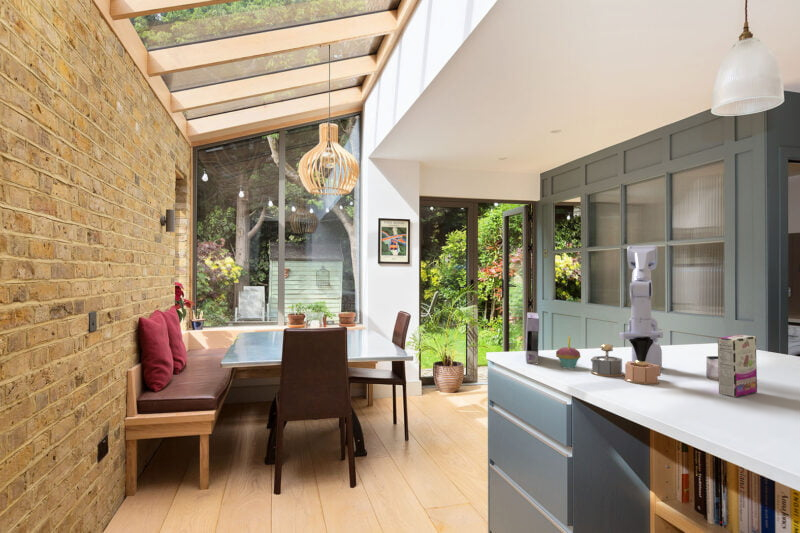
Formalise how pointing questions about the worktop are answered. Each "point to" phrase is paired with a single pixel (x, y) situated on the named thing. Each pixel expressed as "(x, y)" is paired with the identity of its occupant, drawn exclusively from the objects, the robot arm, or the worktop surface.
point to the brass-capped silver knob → (606, 348)
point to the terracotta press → (642, 373)
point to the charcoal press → (607, 366)
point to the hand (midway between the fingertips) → (641, 360)
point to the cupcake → (568, 356)
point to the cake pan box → (532, 337)
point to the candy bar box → (737, 365)
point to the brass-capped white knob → (641, 363)
